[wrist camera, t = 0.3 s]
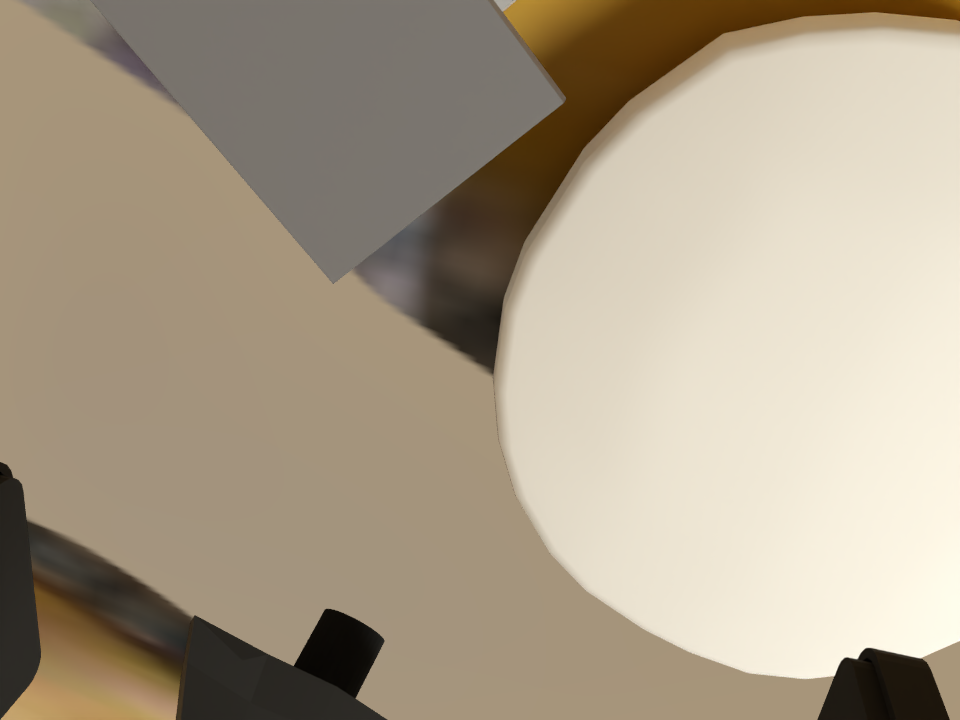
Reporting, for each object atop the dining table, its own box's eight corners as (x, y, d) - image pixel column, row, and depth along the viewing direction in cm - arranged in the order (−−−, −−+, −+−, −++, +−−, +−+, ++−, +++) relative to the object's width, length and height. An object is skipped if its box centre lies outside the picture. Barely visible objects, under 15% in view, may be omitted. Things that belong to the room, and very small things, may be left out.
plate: (658, -111, 29) (1440, 188, 29) (650, -84, 35) (1297, 163, 35) (393, 581, 39) (978, 809, 39) (422, 509, 45) (928, 706, 45)
